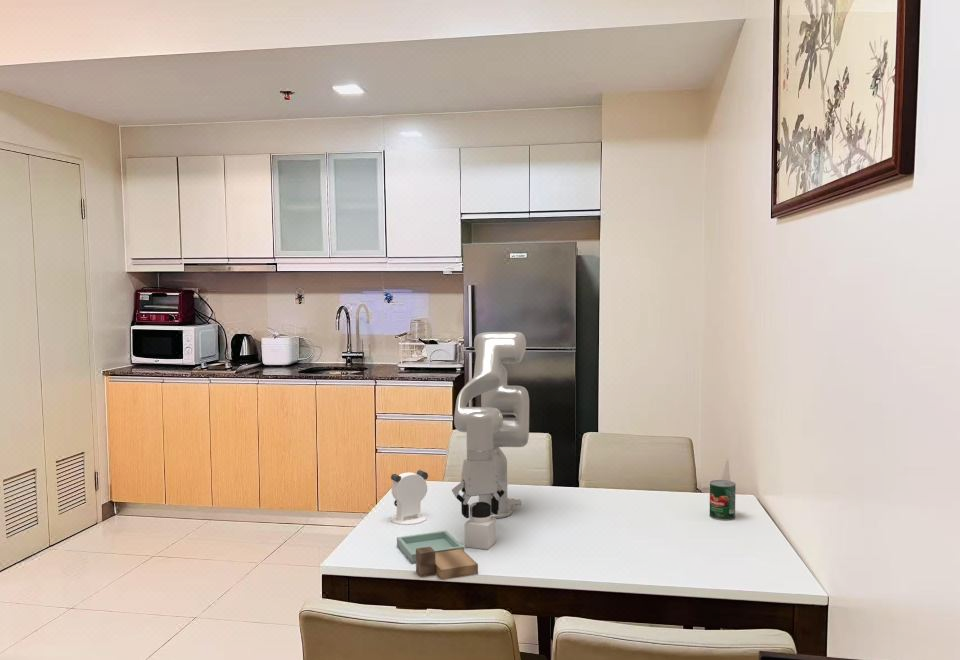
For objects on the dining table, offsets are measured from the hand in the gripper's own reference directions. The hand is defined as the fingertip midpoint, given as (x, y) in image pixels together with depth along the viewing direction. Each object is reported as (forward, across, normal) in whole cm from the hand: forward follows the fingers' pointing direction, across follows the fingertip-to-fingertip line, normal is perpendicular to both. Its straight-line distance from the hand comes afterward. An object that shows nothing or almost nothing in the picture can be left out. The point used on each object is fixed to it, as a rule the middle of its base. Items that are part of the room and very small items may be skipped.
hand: (480, 514), depth 206 cm
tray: (+9, +15, -1) cm, 17 cm away
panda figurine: (+9, +12, -31) cm, 34 cm away
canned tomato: (+9, -81, +7) cm, 82 cm away
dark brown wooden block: (+9, +21, +14) cm, 27 cm away
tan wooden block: (+9, +14, +14) cm, 21 cm away
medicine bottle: (+9, 0, 0) cm, 9 cm away
